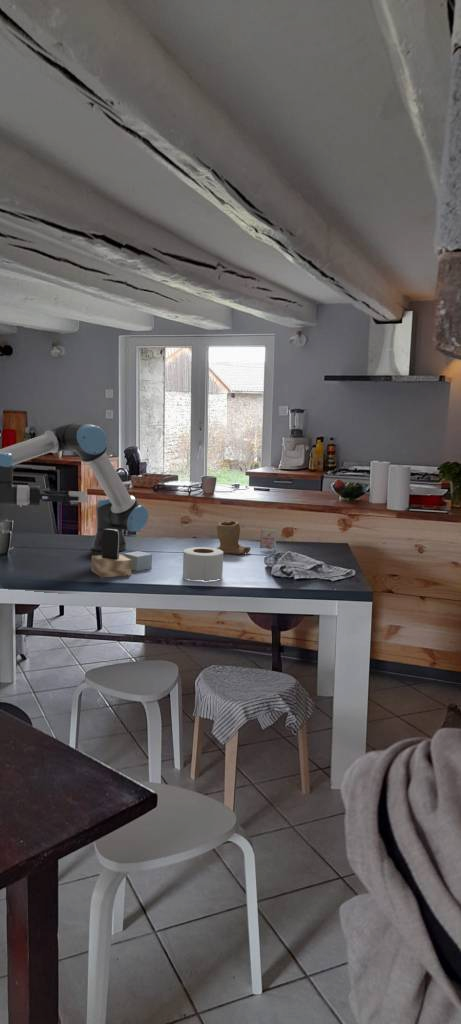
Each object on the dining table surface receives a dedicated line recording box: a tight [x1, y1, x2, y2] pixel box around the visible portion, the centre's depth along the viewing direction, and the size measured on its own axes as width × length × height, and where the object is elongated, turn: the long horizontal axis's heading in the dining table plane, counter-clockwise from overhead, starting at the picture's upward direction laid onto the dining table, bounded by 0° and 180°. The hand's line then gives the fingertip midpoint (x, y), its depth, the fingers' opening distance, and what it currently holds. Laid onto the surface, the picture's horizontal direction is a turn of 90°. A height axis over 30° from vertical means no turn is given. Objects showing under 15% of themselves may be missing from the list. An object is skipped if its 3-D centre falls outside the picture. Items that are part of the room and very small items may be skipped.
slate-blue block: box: [123, 550, 153, 572], centre depth 296 cm, size 8×8×6 cm
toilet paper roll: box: [182, 546, 224, 581], centre depth 285 cm, size 16×15×11 cm
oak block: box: [90, 553, 132, 578], centre depth 286 cm, size 12×12×6 cm
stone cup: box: [216, 520, 251, 555], centre depth 332 cm, size 15×12×15 cm
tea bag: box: [259, 528, 277, 549], centre depth 343 cm, size 4×7×10 cm, turn 77°
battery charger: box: [101, 529, 121, 559], centre depth 285 cm, size 7×4×11 cm, turn 75°
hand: (86, 496), depth 280 cm, fingers open, 13 cm apart
